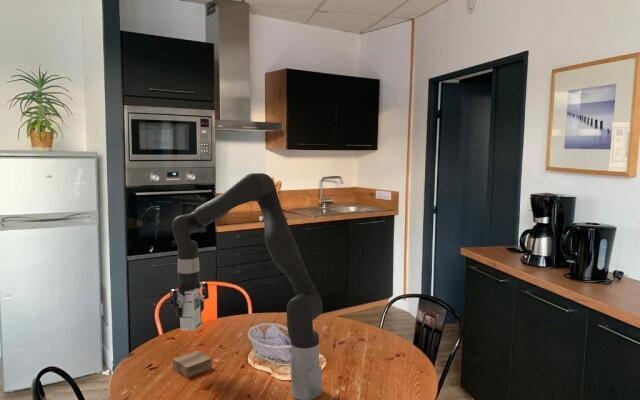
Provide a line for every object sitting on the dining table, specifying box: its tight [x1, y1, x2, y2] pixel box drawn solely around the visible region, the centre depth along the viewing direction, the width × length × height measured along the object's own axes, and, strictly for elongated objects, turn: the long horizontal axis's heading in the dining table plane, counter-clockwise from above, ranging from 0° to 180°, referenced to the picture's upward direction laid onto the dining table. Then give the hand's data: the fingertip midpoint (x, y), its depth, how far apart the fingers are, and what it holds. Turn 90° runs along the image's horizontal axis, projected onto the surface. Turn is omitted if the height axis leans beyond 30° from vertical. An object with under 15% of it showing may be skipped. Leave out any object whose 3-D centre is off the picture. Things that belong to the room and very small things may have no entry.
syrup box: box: [177, 288, 203, 332], centre depth 171 cm, size 6×6×14 cm
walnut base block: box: [172, 350, 213, 378], centre depth 173 cm, size 10×10×4 cm
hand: (190, 313), depth 171 cm, fingers closed on syrup box, 8 cm apart
